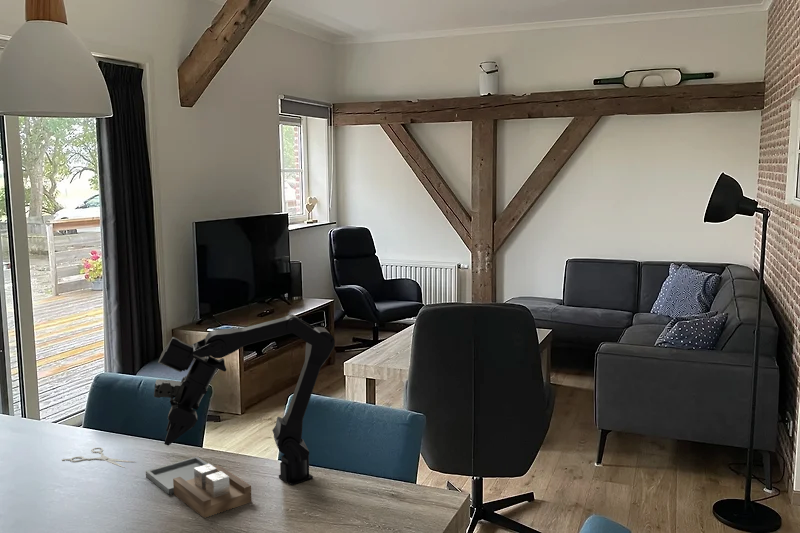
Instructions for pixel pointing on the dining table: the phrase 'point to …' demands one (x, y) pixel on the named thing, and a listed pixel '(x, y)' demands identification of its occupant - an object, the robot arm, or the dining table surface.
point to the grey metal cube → (203, 474)
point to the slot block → (207, 503)
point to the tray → (174, 473)
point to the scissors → (99, 458)
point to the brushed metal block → (217, 484)
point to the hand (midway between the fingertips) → (167, 438)
